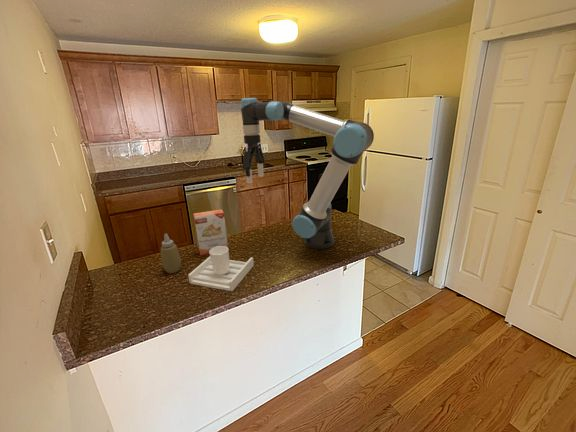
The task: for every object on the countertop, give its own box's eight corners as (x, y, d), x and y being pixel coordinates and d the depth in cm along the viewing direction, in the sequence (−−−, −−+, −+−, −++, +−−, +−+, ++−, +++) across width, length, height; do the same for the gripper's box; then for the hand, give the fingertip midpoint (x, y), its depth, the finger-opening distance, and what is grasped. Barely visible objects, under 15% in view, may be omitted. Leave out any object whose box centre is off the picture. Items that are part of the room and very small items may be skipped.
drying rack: (253, 265, 127) (253, 257, 126) (232, 291, 110) (231, 282, 108) (215, 260, 133) (214, 252, 132) (189, 283, 116) (188, 274, 114)
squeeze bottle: (186, 266, 129) (179, 231, 122) (174, 276, 121) (166, 239, 115) (172, 264, 131) (164, 229, 125) (159, 273, 124) (151, 237, 118)
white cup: (233, 266, 123) (230, 246, 120) (227, 276, 116) (224, 255, 112) (216, 265, 124) (213, 245, 121) (209, 275, 117) (206, 254, 113)
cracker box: (200, 256, 137) (193, 217, 130) (199, 251, 143) (192, 212, 135) (228, 250, 142) (223, 212, 135) (226, 245, 147) (221, 208, 140)
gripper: (255, 132, 141) (258, 173, 148) (231, 137, 118) (236, 185, 126) (269, 132, 138) (271, 174, 146) (247, 137, 116) (251, 186, 124)
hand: (255, 179), depth 136 cm, fingers open, 13 cm apart
